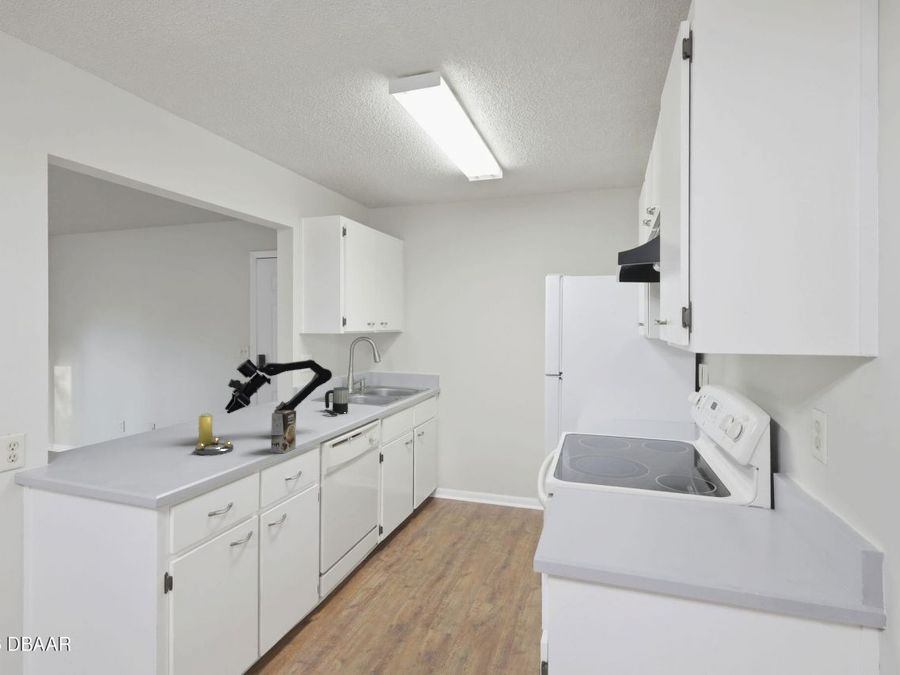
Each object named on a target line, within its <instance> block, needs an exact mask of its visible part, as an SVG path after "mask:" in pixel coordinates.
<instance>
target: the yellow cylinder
mask: <svg viewBox="0 0 900 675" xmlns="http://www.w3.org/2000/svg"><path fill="white" fill-rule="evenodd" d="M212 438H213V415H212V414H211V413H202V414H200V415H199V416H198V444H199V443H204V445H205V444H211V443H212Z"/></svg>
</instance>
